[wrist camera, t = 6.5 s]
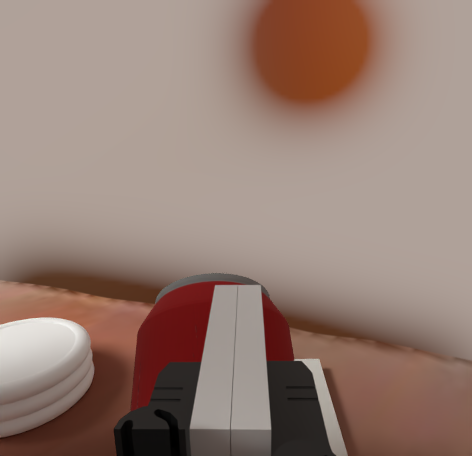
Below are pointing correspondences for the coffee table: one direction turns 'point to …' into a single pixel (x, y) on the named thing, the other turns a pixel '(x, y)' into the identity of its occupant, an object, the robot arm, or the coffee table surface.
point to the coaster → (41, 371)
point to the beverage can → (194, 329)
